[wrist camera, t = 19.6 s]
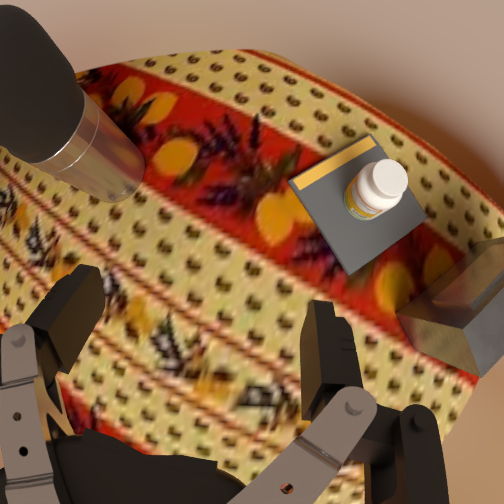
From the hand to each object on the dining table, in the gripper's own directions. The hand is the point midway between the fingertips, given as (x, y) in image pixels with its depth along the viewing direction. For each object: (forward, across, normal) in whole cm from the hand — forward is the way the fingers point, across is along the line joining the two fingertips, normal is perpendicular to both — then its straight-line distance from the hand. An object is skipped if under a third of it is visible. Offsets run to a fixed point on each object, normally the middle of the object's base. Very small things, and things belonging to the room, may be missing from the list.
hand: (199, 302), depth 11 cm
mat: (+30, +15, -6) cm, 34 cm away
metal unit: (+22, +30, -14) cm, 40 cm away
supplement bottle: (+29, +15, -6) cm, 33 cm away
